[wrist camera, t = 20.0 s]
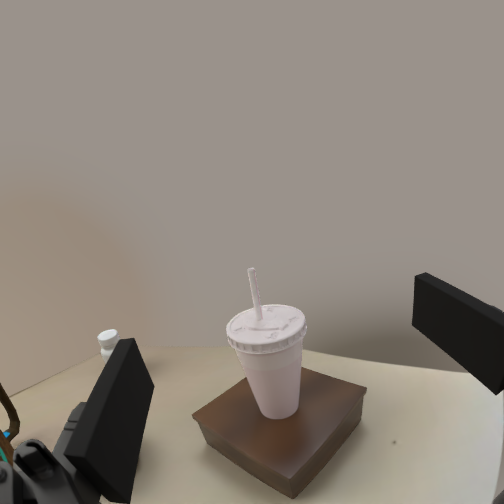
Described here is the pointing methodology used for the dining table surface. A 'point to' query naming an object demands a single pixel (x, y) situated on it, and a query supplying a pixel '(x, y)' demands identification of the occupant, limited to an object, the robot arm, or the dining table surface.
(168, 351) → the dining table surface
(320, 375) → the walnut box
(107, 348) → the pill bottle
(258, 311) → the smoothie
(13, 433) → the mug
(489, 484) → the dining table surface
